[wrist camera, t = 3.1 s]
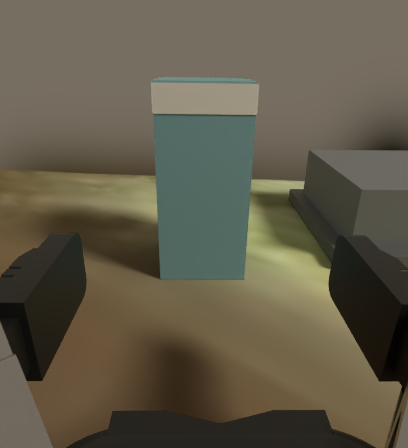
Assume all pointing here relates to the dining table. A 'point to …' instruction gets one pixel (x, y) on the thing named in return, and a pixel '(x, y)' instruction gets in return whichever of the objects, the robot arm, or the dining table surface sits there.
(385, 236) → the podium
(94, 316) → the dining table surface
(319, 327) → the dining table surface
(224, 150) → the carton
